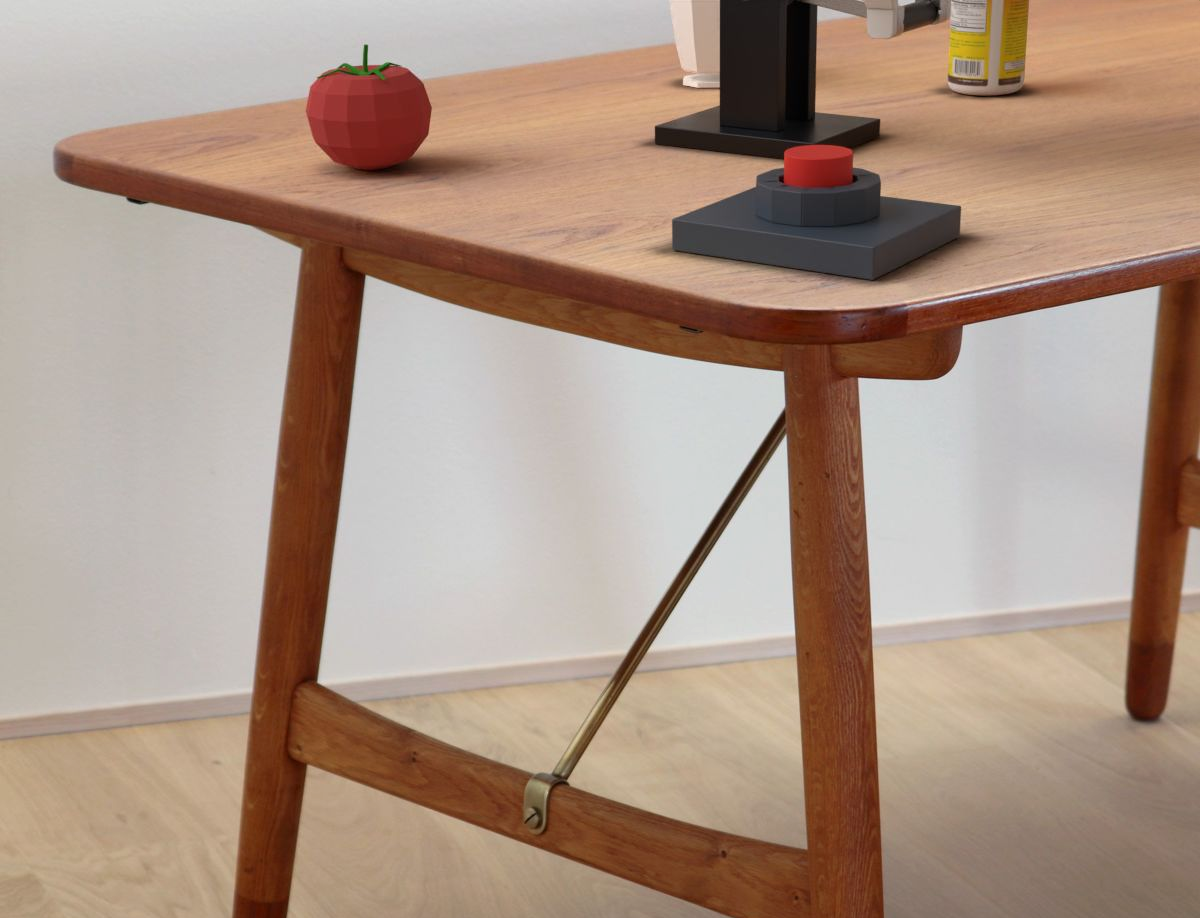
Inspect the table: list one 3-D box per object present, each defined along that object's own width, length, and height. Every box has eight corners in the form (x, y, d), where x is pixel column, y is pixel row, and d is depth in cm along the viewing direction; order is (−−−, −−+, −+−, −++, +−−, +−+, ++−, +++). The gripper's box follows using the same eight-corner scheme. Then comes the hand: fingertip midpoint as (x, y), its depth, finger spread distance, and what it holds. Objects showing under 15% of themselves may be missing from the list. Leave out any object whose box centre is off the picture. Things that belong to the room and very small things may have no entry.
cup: (648, 87, 146) (647, -23, 143) (704, 66, 154) (704, -39, 151) (733, 93, 143) (733, -20, 140) (785, 71, 151) (787, -36, 148)
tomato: (332, 186, 118) (321, 58, 115) (294, 163, 125) (283, 41, 122) (453, 171, 121) (446, 46, 118) (410, 149, 128) (402, 30, 125)
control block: (960, 237, 103) (963, 171, 102) (873, 280, 96) (875, 211, 95) (767, 211, 110) (767, 149, 108) (671, 250, 102) (671, 184, 101)
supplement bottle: (1019, 83, 144) (1028, -61, 140) (1027, 97, 139) (1037, -52, 135) (943, 84, 145) (951, -59, 140) (949, 97, 140) (956, -51, 135)
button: (864, 182, 102) (865, 148, 101) (831, 195, 99) (832, 161, 99) (804, 174, 104) (805, 142, 103) (771, 188, 101) (771, 154, 101)
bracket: (880, 136, 128) (886, -50, 123) (813, 162, 121) (817, -34, 116) (725, 120, 134) (726, -58, 129) (654, 144, 128) (652, -43, 123)
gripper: (883, -204, 104) (876, 58, 110) (1037, -221, 119) (1023, 11, 125) (782, -204, 107) (780, 51, 113) (944, -219, 123) (935, 6, 128)
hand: (909, 30), depth 119 cm, fingers closed on lever, 5 cm apart
